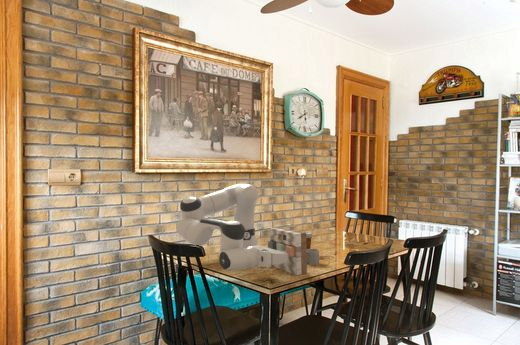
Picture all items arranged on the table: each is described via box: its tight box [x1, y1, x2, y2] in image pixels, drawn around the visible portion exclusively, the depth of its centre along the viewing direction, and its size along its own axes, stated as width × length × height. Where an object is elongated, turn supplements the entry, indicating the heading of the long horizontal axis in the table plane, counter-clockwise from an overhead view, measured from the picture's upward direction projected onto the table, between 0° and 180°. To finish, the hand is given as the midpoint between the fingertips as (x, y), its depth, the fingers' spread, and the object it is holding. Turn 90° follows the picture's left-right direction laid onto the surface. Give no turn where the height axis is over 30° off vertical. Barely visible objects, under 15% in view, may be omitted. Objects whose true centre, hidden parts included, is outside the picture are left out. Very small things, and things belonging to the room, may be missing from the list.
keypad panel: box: [269, 227, 308, 276], centre depth 183 cm, size 22×6×18 cm, turn 30°
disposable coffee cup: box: [304, 231, 313, 249], centre depth 214 cm, size 10×10×12 cm
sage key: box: [276, 243, 285, 251], centre depth 182 cm, size 4×3×4 cm
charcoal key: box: [267, 240, 277, 250], centre depth 188 cm, size 4×3×4 cm
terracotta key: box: [286, 246, 295, 257], centre depth 175 cm, size 4×3×4 cm
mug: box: [307, 248, 320, 266], centre depth 194 cm, size 10×7×7 cm
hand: (284, 252), depth 173 cm, fingers closed
